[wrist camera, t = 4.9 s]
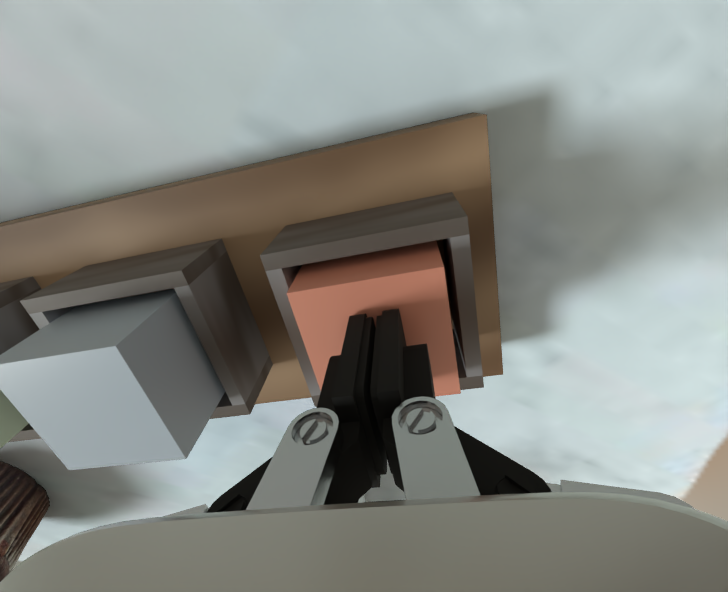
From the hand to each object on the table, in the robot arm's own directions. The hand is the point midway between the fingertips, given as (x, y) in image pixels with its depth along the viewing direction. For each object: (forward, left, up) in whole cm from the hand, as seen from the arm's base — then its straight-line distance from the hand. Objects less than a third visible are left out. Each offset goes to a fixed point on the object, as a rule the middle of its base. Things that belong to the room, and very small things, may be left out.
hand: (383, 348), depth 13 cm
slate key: (0, -10, -2) cm, 10 cm away
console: (0, -10, -7) cm, 13 cm away
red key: (0, 0, -4) cm, 4 cm away
